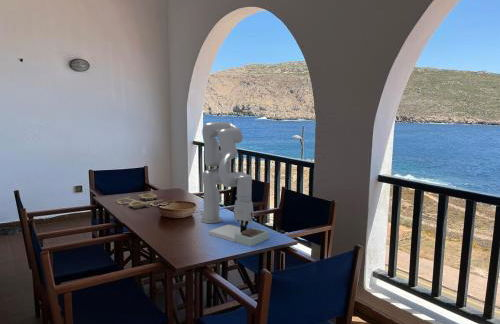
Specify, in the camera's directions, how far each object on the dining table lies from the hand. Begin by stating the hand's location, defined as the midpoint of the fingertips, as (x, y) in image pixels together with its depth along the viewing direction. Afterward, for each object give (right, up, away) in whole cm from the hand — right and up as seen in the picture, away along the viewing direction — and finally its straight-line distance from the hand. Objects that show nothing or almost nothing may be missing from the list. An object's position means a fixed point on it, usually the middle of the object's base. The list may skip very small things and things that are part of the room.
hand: (243, 232), depth 198 cm
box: (+4, -4, -3) cm, 6 cm away
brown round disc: (+4, -3, -2) cm, 5 cm away
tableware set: (-73, +7, +70) cm, 101 cm away
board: (-7, -2, +6) cm, 9 cm away
